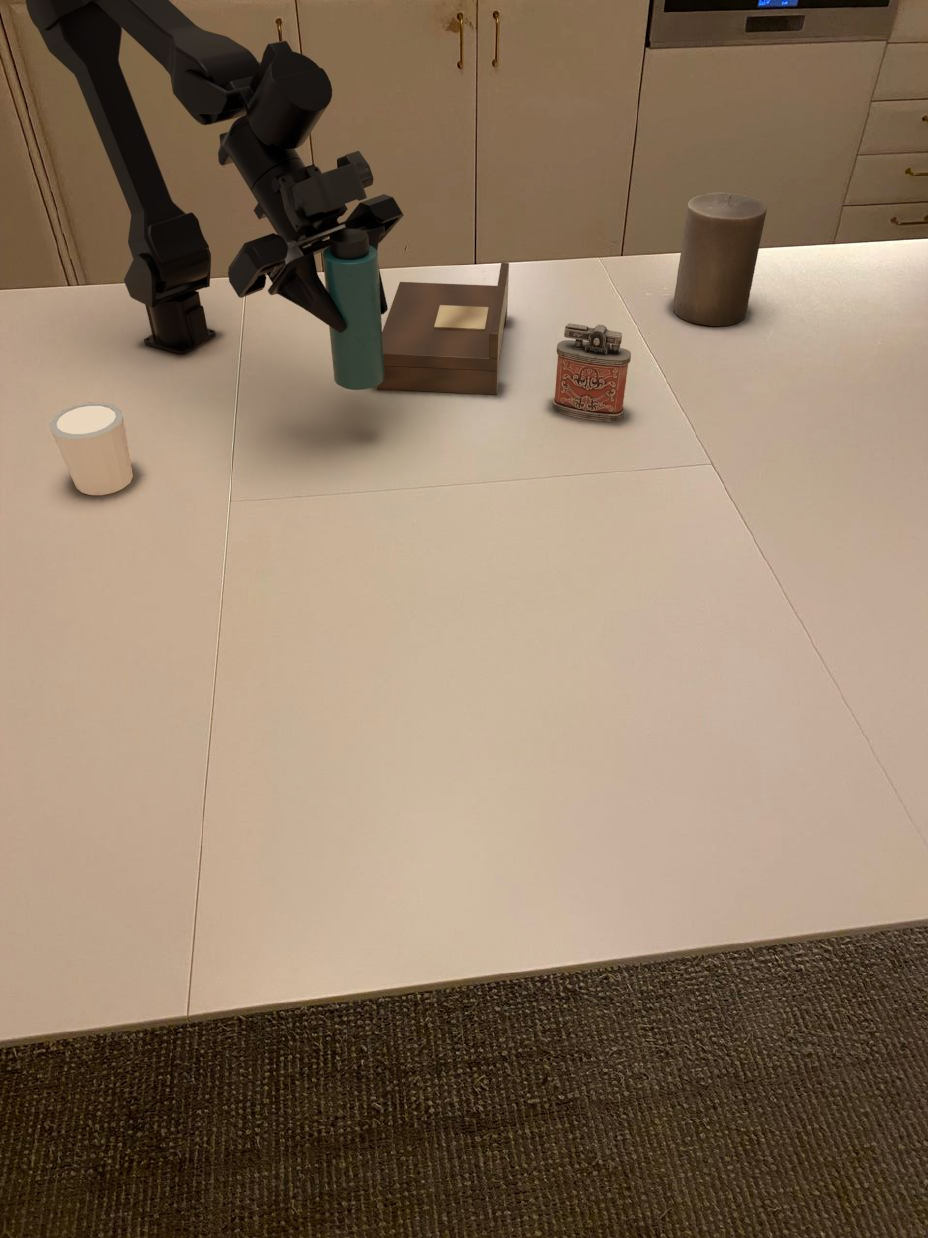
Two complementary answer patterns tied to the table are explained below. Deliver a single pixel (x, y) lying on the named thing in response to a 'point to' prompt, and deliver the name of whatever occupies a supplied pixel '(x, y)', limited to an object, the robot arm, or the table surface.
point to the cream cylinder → (94, 447)
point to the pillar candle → (718, 258)
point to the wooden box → (445, 337)
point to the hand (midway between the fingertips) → (364, 321)
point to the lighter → (591, 373)
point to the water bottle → (355, 309)
